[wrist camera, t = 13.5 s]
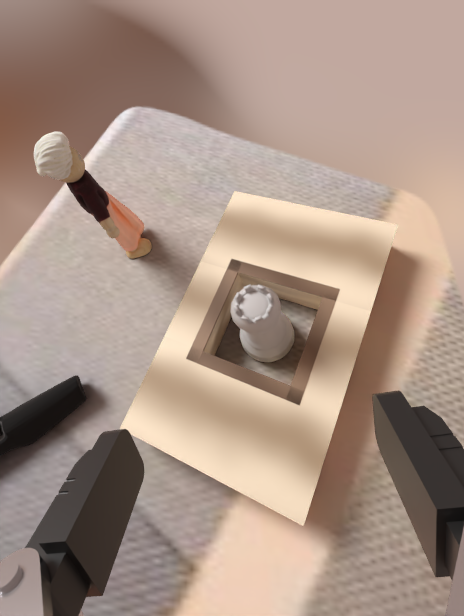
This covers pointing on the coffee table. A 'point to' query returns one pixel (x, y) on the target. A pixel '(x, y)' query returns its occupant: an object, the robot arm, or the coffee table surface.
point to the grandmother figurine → (90, 193)
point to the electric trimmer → (40, 414)
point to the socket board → (251, 385)
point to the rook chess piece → (262, 323)
